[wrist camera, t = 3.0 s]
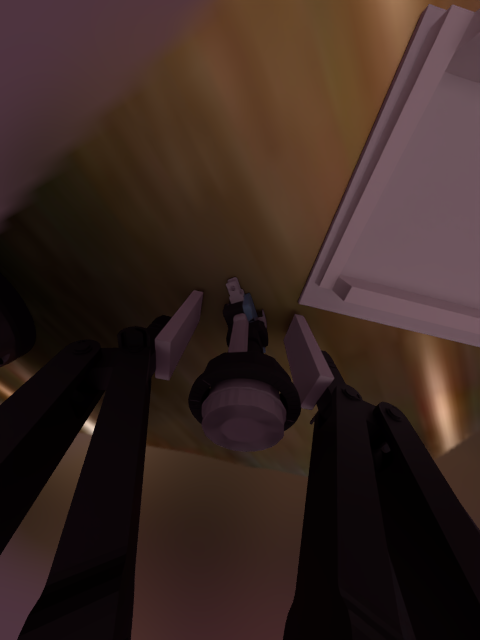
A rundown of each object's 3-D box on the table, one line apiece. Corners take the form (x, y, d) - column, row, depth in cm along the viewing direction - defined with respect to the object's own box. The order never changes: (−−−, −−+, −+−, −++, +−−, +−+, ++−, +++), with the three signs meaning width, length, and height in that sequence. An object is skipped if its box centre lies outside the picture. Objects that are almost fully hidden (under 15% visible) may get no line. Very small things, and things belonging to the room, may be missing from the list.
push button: (203, 285, 15) (137, 378, 7) (265, 265, 14) (284, 346, 5) (231, 346, 18) (210, 464, 10) (284, 334, 17) (314, 455, 8)
